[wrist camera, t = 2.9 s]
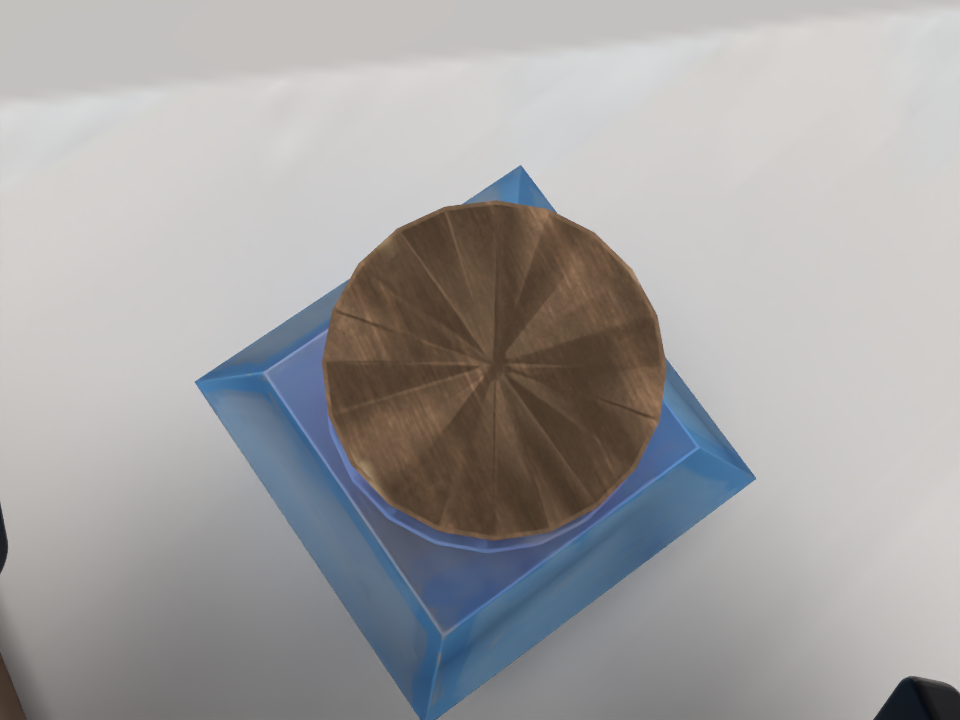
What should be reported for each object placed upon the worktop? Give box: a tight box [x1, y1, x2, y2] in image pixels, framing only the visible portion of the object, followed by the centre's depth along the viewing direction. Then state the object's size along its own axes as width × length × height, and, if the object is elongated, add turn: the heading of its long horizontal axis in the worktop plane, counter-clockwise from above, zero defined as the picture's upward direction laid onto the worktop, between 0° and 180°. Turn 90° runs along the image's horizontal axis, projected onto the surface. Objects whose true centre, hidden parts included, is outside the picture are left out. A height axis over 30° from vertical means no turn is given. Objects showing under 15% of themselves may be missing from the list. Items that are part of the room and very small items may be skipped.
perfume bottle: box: [195, 165, 756, 720], centre depth 14 cm, size 6×6×12 cm
